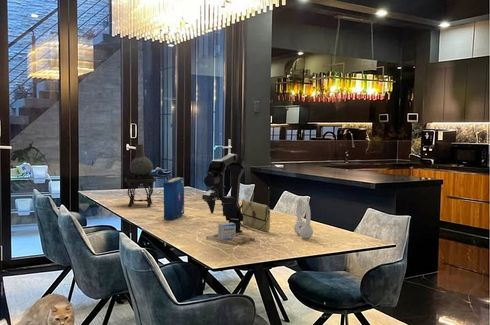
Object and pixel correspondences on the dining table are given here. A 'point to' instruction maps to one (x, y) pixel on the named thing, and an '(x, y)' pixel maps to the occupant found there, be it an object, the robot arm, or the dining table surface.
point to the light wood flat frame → (213, 237)
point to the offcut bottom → (242, 242)
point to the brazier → (140, 175)
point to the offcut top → (241, 238)
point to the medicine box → (226, 231)
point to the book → (173, 198)
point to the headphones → (301, 226)
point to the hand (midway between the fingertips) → (218, 214)
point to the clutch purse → (255, 215)
